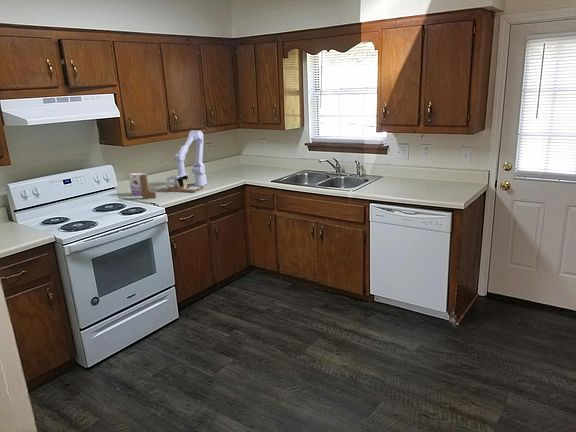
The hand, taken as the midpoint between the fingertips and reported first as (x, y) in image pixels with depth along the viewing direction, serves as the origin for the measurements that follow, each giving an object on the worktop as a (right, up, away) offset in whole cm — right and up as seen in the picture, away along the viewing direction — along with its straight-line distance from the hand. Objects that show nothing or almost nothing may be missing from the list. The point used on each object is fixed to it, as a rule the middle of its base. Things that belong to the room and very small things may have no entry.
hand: (183, 185), depth 357 cm
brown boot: (-21, -11, -18) cm, 30 cm away
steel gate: (-10, -1, +4) cm, 11 cm away
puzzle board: (+1, -3, +1) cm, 3 cm away
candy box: (-32, -7, -4) cm, 33 cm away
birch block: (0, -3, +1) cm, 3 cm away
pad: (+8, -2, -3) cm, 9 cm away
